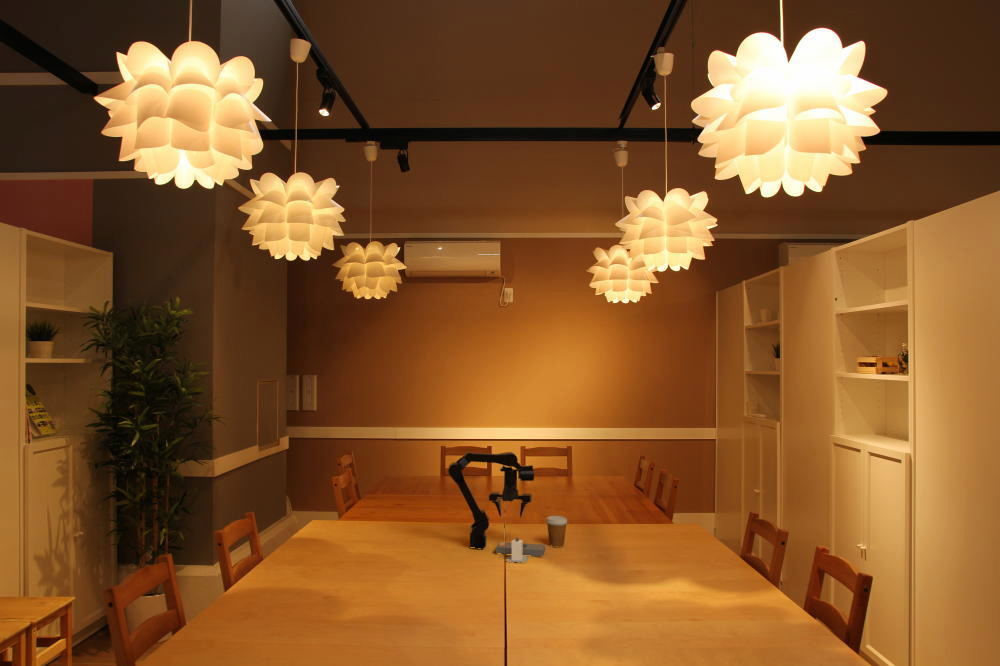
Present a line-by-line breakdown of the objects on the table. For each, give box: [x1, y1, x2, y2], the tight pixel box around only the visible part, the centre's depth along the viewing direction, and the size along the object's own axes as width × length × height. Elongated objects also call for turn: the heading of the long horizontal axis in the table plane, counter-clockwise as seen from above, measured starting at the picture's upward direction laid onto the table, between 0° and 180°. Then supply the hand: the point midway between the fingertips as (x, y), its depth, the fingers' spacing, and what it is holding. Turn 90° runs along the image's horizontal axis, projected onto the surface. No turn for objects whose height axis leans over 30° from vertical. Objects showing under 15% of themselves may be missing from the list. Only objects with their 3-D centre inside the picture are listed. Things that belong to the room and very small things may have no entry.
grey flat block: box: [495, 541, 546, 557], centre depth 260 cm, size 20×8×4 cm, turn 79°
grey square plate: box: [505, 555, 529, 563], centre depth 251 cm, size 8×8×1 cm
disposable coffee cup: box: [545, 515, 568, 547], centre depth 272 cm, size 10×10×12 cm
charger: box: [511, 537, 524, 560], centre depth 251 cm, size 4×4×8 cm
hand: (510, 516), depth 270 cm, fingers open, 9 cm apart
